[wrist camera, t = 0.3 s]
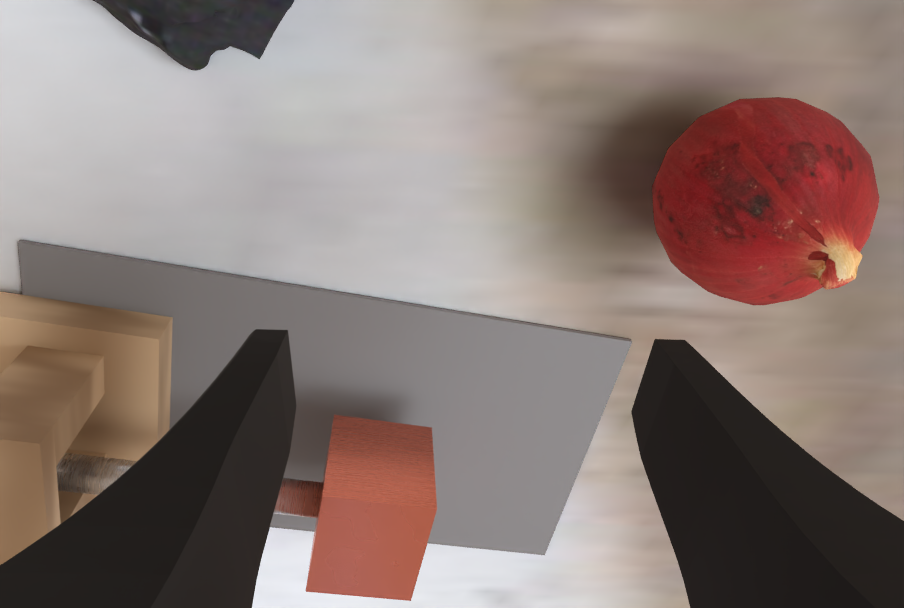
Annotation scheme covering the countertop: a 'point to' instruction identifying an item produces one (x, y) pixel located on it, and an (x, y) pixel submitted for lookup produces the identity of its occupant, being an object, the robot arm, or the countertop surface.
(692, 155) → the onion
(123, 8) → the black folded cloth
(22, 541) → the wooden arch frame
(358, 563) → the copper cube mallet
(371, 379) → the gray panel
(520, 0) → the countertop surface
